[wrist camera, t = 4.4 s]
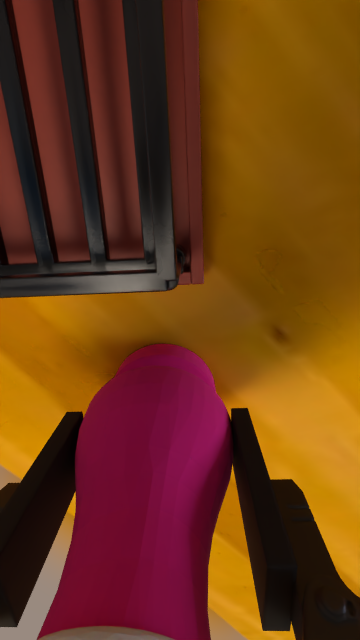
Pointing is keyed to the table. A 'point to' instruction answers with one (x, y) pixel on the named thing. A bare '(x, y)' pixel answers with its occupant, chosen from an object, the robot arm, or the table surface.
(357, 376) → the table surface
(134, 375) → the pepper mill
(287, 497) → the robot arm
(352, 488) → the table surface
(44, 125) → the dish rack
